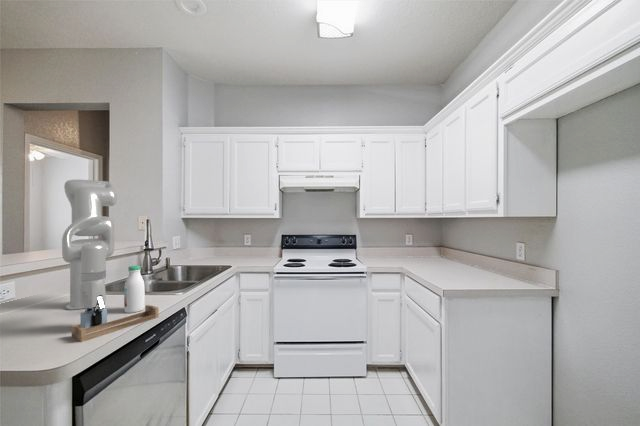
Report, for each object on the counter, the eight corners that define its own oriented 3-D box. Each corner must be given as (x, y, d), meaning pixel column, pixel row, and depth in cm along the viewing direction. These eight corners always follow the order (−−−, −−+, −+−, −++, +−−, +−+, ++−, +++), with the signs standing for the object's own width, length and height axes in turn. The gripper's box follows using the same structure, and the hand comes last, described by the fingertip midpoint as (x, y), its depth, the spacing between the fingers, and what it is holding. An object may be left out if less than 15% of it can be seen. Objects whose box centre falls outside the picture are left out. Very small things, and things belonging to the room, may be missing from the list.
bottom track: (71, 337, 100) (71, 325, 100) (148, 314, 123) (148, 304, 123) (81, 341, 96) (81, 330, 96) (158, 317, 119) (158, 307, 119)
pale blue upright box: (80, 329, 107) (80, 313, 107) (102, 322, 113) (101, 307, 113) (85, 331, 105) (85, 314, 105) (107, 324, 111) (107, 309, 111)
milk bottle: (148, 307, 131) (148, 264, 131) (138, 313, 124) (138, 267, 124) (131, 307, 131) (131, 264, 131) (120, 313, 123) (120, 267, 123)
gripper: (71, 276, 110) (71, 323, 109) (92, 280, 101) (92, 331, 101) (94, 272, 116) (94, 317, 116) (115, 276, 108) (115, 324, 108)
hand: (93, 323), depth 109 cm, fingers closed on pale blue upright box, 4 cm apart
